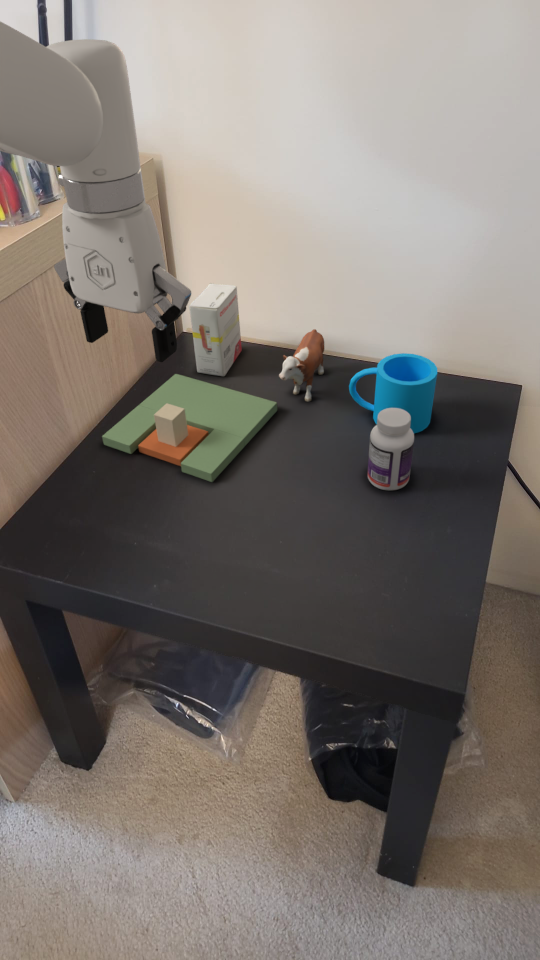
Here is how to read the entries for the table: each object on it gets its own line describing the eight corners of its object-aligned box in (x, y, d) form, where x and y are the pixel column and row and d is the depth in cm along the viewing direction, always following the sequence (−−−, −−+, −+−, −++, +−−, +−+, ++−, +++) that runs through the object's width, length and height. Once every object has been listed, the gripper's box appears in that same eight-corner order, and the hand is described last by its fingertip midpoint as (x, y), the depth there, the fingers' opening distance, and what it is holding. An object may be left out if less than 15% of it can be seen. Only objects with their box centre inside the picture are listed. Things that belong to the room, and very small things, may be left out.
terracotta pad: (139, 452, 94) (132, 418, 91) (168, 425, 99) (163, 392, 95) (181, 466, 92) (176, 432, 88) (209, 438, 96) (205, 404, 93)
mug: (434, 406, 100) (441, 357, 95) (425, 438, 95) (432, 389, 89) (354, 393, 104) (357, 346, 98) (341, 424, 98) (343, 375, 92)
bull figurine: (275, 409, 101) (273, 361, 96) (306, 364, 110) (306, 318, 105) (303, 415, 100) (303, 367, 94) (332, 369, 109) (333, 322, 104)
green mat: (103, 444, 96) (101, 436, 95) (176, 381, 108) (175, 373, 107) (212, 482, 89) (211, 473, 88) (277, 410, 101) (277, 402, 100)
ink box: (215, 346, 115) (209, 280, 108) (243, 350, 114) (238, 284, 106) (195, 373, 109) (187, 304, 102) (224, 377, 108) (217, 308, 100)
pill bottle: (401, 462, 91) (409, 401, 85) (414, 488, 87) (423, 427, 81) (362, 467, 90) (366, 406, 84) (373, 494, 86) (378, 432, 80)
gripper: (11, 190, 68) (51, 345, 79) (154, 216, 61) (176, 380, 72) (62, 169, 73) (93, 317, 84) (200, 191, 66) (213, 348, 77)
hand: (131, 346), depth 78 cm, fingers open, 9 cm apart
